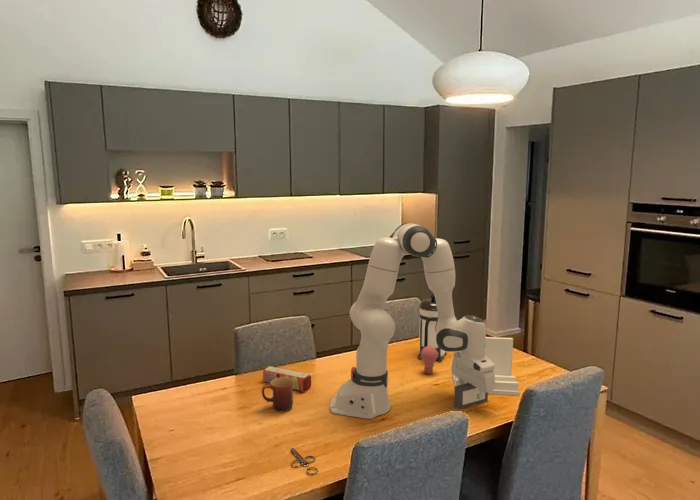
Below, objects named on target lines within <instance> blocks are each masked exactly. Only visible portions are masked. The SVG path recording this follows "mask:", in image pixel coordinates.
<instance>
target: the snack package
mask: <svg viewBox="0 0 700 500" xmlns="http://www.w3.org/2000/svg"><path fill="white" fill-rule="evenodd" d="M280 377H288V378H291V379H293V380H294V385H293V390H295V391H298V392H301V393H306V392H307V391H309V390H310V388H311V387H312V376H311V374H310V373H304V372H299V371H293V370H289V369H286V368H280V367H275V366H271V365H269V366H267V367H265V368H264V369H263V371H262V380H263V382H264V383H266V382H268V383H267V384H270V382H271V381H272V380H273V379H276V378H280ZM308 389H309V390H308ZM305 391H306V392H305Z"/></svg>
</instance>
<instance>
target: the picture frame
mask: <svg viewBox="0 0 700 500" xmlns="http://www.w3.org/2000/svg"><path fill="white" fill-rule="evenodd" d="M479 393H480V391H479V388H477V387H475V386H473V385H471V384H469V383H466V384H462V385H458V386H455V385H454V402H453V404H454V408H456V409H458V410H461V409H464V408H468V407H471V406H475V405H478V404H482V403H485V402H488V398H489V394H488V392H487V393H486V392H485V394H484V395H483V400H479V399H478V398H477V394H479Z"/></svg>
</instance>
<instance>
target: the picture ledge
mask: <svg viewBox="0 0 700 500" xmlns="http://www.w3.org/2000/svg"><path fill="white" fill-rule="evenodd" d="M484 348H485V355H486V356H487V357H488V358H489V359H490V360H491V361H492V362H493V363H494V364H495V369H494V370H493V371H494V374H495V388H494V390H493V391H491V392H488V395H503V396H504V395H505V396H519V393H520V391H519V386H520V385H519V384H520V383H519V381H517V377H516V375H512V373H513V372H512V371H513V370H512V369H513V355H514V353H513V350H514V338H513V337H499V336H497V337H493V336H492V337H491V336H486V342H485V345H484ZM456 352H460V353H461V351H453V352H452V354H453V355H452V359H453V358H454V354H455V353H456ZM452 379H453V385H454V387H455V386H458V385H460V383H459V380H458V377H457V376H455V375H453V374H452ZM464 382H465V384H466V383H468V382H466V381H464Z"/></svg>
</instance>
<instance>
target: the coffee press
mask: <svg viewBox="0 0 700 500" xmlns="http://www.w3.org/2000/svg"><path fill="white" fill-rule="evenodd" d="M418 307H419V314H418V317H419V331H418V332H419V335H418V336H419V338H418V339H419V342H418V344H419V345H418V352H419V353H418V355H417V359H418V360H422V358H421V351H422V349H423V348H424V347H426V346H432V347H434V348H435V349H436V351H437V353H438V357H437V359H436V361H437V362H438V363H442V362H443V360H442V357H444V356H447V351H444V350H442V349H441V348H439V346H438V345H437V342H436V332H435V325H436V322H437V319H438V312H437V305H436V299H435V296H434V294H431V295H430V298H425V299H422V300H421V301H420V303H419V305H418Z"/></svg>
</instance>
